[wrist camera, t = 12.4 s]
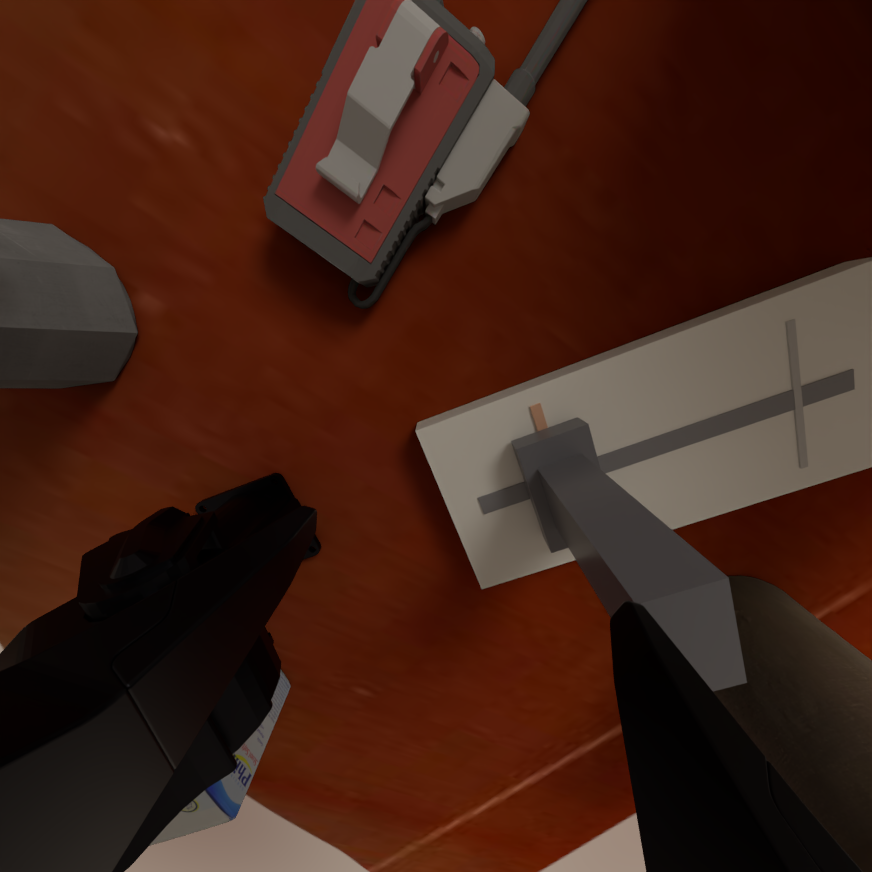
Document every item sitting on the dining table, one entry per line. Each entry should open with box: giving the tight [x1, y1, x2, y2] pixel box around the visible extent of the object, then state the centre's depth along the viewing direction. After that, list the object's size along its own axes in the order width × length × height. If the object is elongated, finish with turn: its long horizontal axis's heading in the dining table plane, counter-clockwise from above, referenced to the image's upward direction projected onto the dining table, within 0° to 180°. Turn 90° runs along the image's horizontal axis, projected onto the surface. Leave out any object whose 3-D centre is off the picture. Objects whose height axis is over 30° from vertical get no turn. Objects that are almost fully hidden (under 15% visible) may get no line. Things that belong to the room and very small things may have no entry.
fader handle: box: [511, 417, 747, 691], centre depth 16 cm, size 4×7×12 cm, turn 21°
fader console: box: [415, 257, 872, 589], centre depth 22 cm, size 26×12×2 cm, turn 111°
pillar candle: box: [713, 576, 872, 872], centre depth 20 cm, size 10×10×15 cm
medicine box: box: [149, 670, 290, 846], centre depth 25 cm, size 8×4×9 cm, turn 114°
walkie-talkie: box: [263, 0, 587, 309], centre depth 16 cm, size 9×4×20 cm
